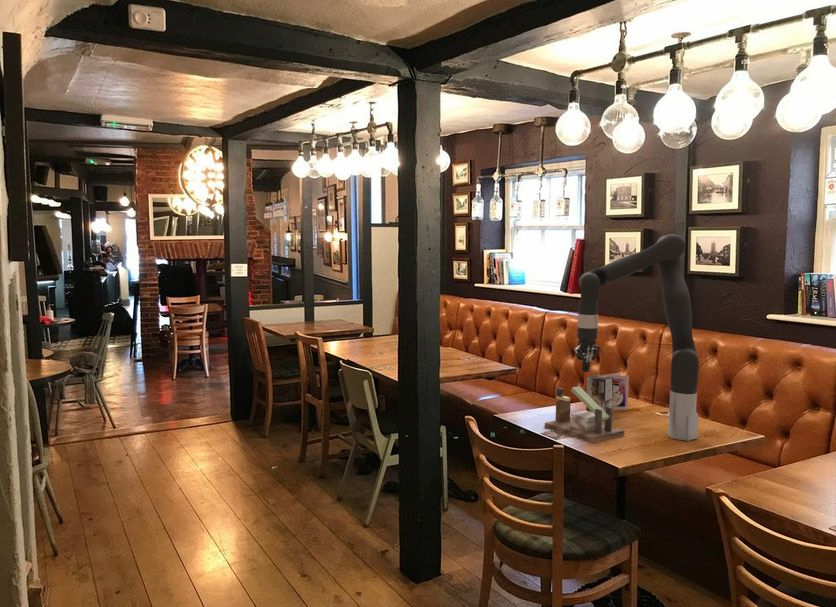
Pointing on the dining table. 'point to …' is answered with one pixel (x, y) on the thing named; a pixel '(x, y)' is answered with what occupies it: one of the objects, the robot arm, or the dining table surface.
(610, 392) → the coffee box
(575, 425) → the latch base
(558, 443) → the dining table surface
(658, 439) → the dining table surface
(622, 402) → the greeting card
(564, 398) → the bolt
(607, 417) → the pale green flat bar
